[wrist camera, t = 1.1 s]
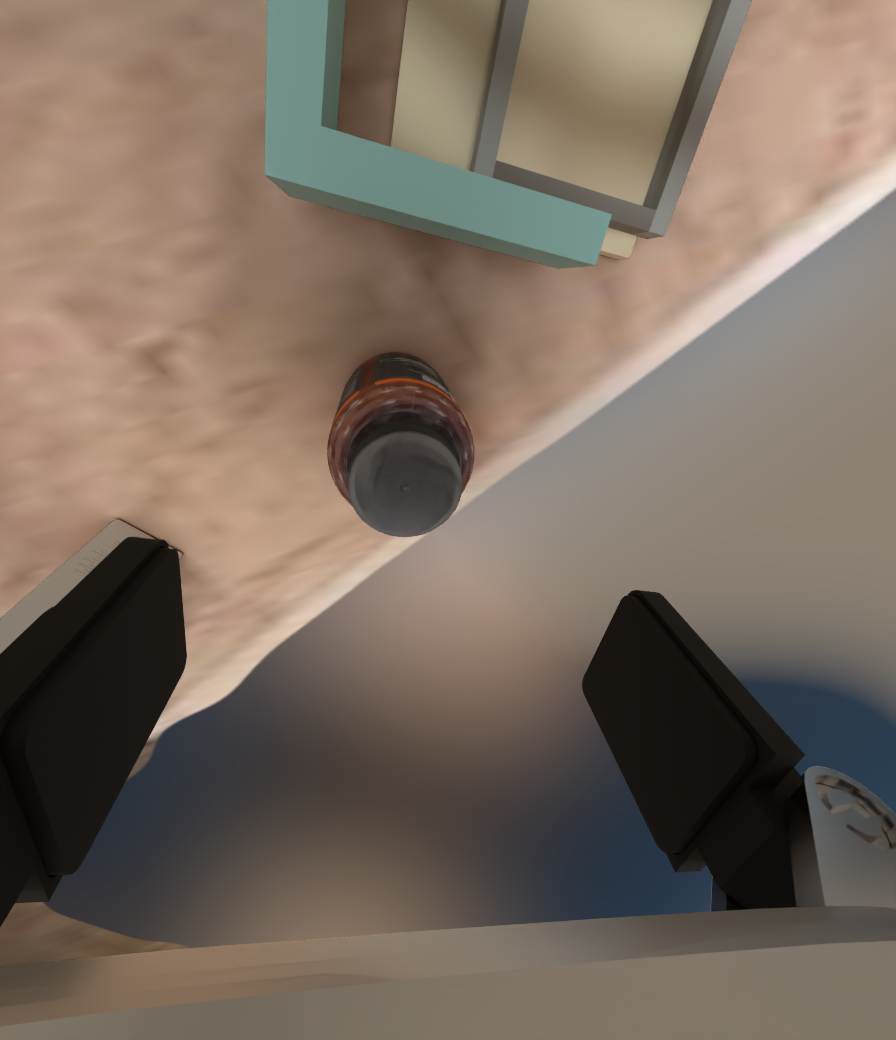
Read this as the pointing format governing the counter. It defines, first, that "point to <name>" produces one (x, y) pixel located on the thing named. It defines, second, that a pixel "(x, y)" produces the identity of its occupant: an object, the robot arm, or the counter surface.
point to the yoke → (395, 159)
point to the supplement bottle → (400, 446)
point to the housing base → (568, 97)
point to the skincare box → (64, 580)
